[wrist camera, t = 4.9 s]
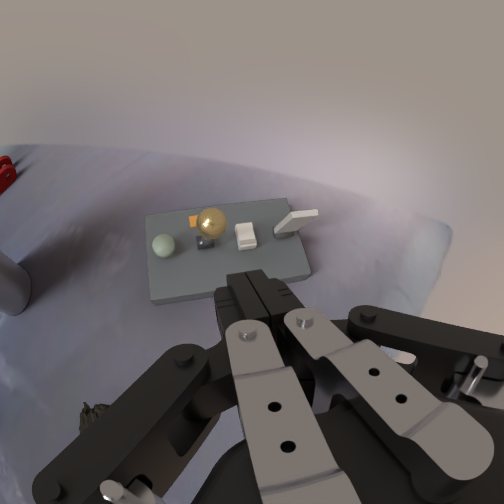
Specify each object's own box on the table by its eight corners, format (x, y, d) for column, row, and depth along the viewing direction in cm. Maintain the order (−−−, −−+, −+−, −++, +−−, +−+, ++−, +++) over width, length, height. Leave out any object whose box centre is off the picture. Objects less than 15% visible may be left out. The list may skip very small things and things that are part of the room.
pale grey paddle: (293, 237, 43) (319, 219, 34) (271, 240, 43) (293, 222, 33) (290, 225, 44) (316, 204, 34) (269, 228, 43) (290, 207, 33)
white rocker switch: (254, 248, 41) (257, 244, 40) (239, 250, 41) (240, 246, 39) (249, 226, 42) (252, 221, 41) (234, 228, 42) (236, 223, 40)
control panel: (305, 279, 44) (311, 272, 41) (154, 305, 39) (150, 299, 36) (282, 207, 49) (286, 197, 47) (147, 225, 44) (144, 215, 41)
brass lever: (216, 251, 41) (231, 234, 25) (196, 254, 40) (198, 239, 24) (213, 231, 41) (226, 202, 25) (193, 234, 40) (194, 206, 24)
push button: (177, 260, 39) (175, 252, 37) (156, 263, 38) (153, 255, 36) (175, 240, 40) (173, 232, 38) (154, 243, 40) (151, 235, 37)
